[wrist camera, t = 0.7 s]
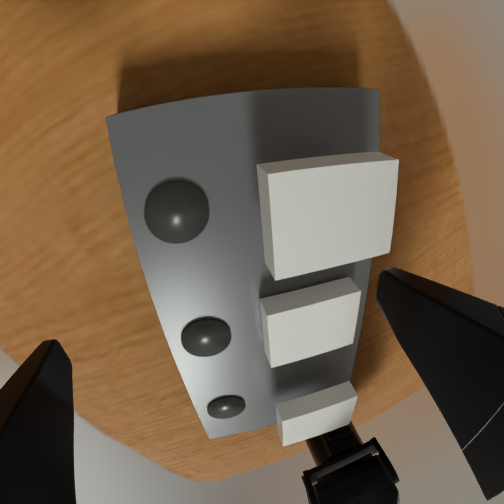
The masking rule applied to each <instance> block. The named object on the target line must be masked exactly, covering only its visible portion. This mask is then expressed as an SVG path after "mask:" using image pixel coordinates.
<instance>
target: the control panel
mask: <svg viewBox="0 0 504 504" xmlns="http://www.w3.org/2000/svg"><path fill="white" fill-rule="evenodd" d="M106 122H107V127H108V133H109V138H110V143H111V148H112V153H113V158H114V163H115V167H116V172H117V176H118V181H119V185H120V189H121V193H122V197H123V201H124V205H125V209H126V213H127V217H128V221H129V224H130V228H131V232H132V235H133V239H134V242H135V246H136V249H137V253H138V256H139V259H140V262H141V266H142V269H143V272H144V275H145V278H146V282H147V285H148V288H149V291H150V294H151V297H152V300H153V303H154V305H155V308H156V311H157V314H158V317H159V320H160V322H161V325H162V328H163V331H164V333H165V336H166V339H167V341H168V344H169V347H170V349H171V352H172V354H173V357H174V359H175V362H176V364H177V367H178V369H179V372H180V374H181V377H182V379H183V381H184V384H185V386H186V388H187V391H188V393H189V395H190V398H191V400H192V402H193V404H194V407H195V409H196V411H197V413H198V415H199V418H200V420H201V422H202V424H203V426H204V428H205V430H206V432H207V434H208V437H209V439H214V438H219V437H224V436H228V435H233V434H238V433H242V432H246V431H250V430H254V429H258V428H262V427H266V426H270V425H274V424H277V416H276V404H279V403H282V402H286V401H289V400H292V399H296V398H299V397H302V396H306V395H309V394H312V393H315V392H318V391H321V390H324V389H327V388H330V387H333V386H336V385H339V384H342V383H344V382H347V381H350V379H351V375H352V371H353V366H354V362H355V357H356V352H357V347H358V342H359V337H360V332H361V326H362V321H363V315H364V309H365V303H366V297H367V290H368V283H369V276H370V269H371V261H372V258H368V259H364V260H360V261H356V262H352V263H348V264H344V265H340V266H336V267H332V268H328V269H323V270H319V271H315V272H311V273H307V274H302V275H298V276H294V277H290V278H285V279H281V280H277V281H275V279H274V278H273V276H272V274H271V272H270V270H269V269H268V267H267V265H266V263H265V256H264V244H263V232H262V221H261V209H260V198H259V186H258V175H257V164H262V163H270V162H277V161H285V160H293V159H301V158H310V157H319V156H329V155H339V154H351V153H363V152H380V92H379V89H371V88H358V87H292V88H274V89H260V90H248V91H238V92H229V93H221V94H213V95H206V96H199V97H192V98H186V99H180V100H175V101H169V102H164V103H159V104H154V105H149V106H145V107H140V108H136V109H131V110H127V111H123V112H119V113H116V114H113V115H110V116H107V117H106ZM346 277H350V279H351V280H352V281H353V282H354V283H355V284H356V285H357V286H358V288H359V289H360V290H361V297H360V304H359V311H358V317H357V323H356V329H355V335H354V339H353V344H350V345H347V346H344V347H341V348H338V349H335V350H331V351H328V352H325V353H322V354H319V355H316V356H312V357H309V358H306V359H302V360H299V361H295V362H292V363H288V364H285V365H281V366H277V367H273V368H271V366H270V364H269V361H268V359H267V356H266V353H265V350H264V340H263V329H262V319H261V309H260V299H261V298H266V297H270V296H274V295H278V294H283V293H287V292H291V291H295V290H299V289H303V288H307V287H311V286H315V285H319V284H323V283H327V282H331V281H335V280H339V279H342V278H346Z"/></svg>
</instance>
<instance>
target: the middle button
mask: <svg viewBox="0 0 504 504" xmlns="http://www.w3.org/2000/svg"><path fill="white" fill-rule="evenodd" d="M360 297H361V290H360V289H359V288H358V286H357V285H356V284H355V283H354V282H353V281H352V280H351V279H350V277H346V278H342V279H339V280H335V281H331V282H327V283H323V284H319V285H315V286H311V287H307V288H303V289H299V290H295V291H291V292H287V293H283V294H278V295H274V296H270V297H266V298H261V299H260V309H261V319H262V329H263V340H264V350H265V353H266V356H267V359H268V361H269V364H270V366H271V368H273V367H277V366H281V365H285V364H288V363H292V362H295V361H299V360H302V359H306V358H309V357H312V356H316V355H319V354H322V353H325V352H328V351H331V350H335V349H338V348H341V347H344V346H347V345H350V344H353V339H354V335H355V329H356V323H357V317H358V311H359V304H360Z"/></svg>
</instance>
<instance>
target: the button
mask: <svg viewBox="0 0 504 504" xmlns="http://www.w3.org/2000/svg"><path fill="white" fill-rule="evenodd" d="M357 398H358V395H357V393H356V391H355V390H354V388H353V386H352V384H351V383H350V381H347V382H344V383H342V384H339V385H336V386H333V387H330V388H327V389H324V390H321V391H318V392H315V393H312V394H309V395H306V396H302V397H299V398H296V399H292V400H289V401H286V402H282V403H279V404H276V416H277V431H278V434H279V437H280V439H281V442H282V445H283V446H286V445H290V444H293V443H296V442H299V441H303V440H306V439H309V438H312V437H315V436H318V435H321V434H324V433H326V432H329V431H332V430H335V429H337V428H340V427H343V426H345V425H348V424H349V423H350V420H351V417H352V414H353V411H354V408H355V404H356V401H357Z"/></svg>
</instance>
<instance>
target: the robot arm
mask: <svg viewBox="0 0 504 504" xmlns="http://www.w3.org/2000/svg"><path fill="white" fill-rule="evenodd" d="M376 298H377V301H378V303H379V305H380V307H381V309H382V311H383V313H384V315H385V317H386V318H387V320H388V322H389V324H390V326H391V328H392V330H393V332H394V334H395V336H396V338H397V340H398V342H399V343H400V345H401V347H402V348H403V350H404V352H405V353H406V355H407V356H408V358H409V360H410V361H411V363H412V364H413V366H414V368H415V369H416V371H417V372H418V374H419V376H420V377H421V379H422V381H423V382H424V384H425V386H426V387H427V389H428V391H429V392H430V394H431V396H432V397H433V399H434V401H435V403H436V404H437V406H438V408H439V410H440V411H441V413H442V415H443V417H444V418H445V420H446V422H447V424H448V425H449V427H450V429H451V431H452V432H453V435H454V436H455V438H456V440H457V442H458V444H459V446H460V448H461V449H462V452H463V453H464V456H465V457H466V459H467V461H468V463H469V465H470V467H471V469H472V471H473V473H474V475H475V477H476V479H477V481H478V483H479V485H480V487H481V490H482V492H483V494H484V496H485V498H486V499H487V501H489V500H491V499H492V498H494V497H495V496H497V495H498V494H500V493H502V492H503V491H504V308H503V307H500V306H498V307H497V306H496V305H495V304H493V303H490V302H487V301H484V300H482V299H480V298H477V297H474V296H472V295H469V294H466V293H464V292H461V291H458V290H456V289H453V288H450V287H448V286H445V285H442V284H440V283H437V282H434V281H431V280H429V279H426V278H423V277H420V276H418V275H415V274H412V273H409V272H407V271H404V270H401V269H398V268H395V267H390V268H387V269H383V270H382V271H381V272H380V274H379V279H378V285H377V291H376ZM73 436H74V406H73V384H72V364H71V361H70V359H69V357H68V356H67V354H66V353H65V351H64V349H63V348H62V346H61V345H60V343H59V342H58V341H57V340H55V339H52V340H45V341H43V342H42V343H41V344H40V345H39V346H38V347H37V348H36V349H35V350H34V351H33V353H32V354H31V355H30V356H29V357H28V358H27V359H26V360H25V361H24V363H23V364H22V365H21V366H20V367H19V368H18V369H17V371H16V372H15V373H14V374H13V375H12V376H11V378H10V379H9V380H8V381H7V382H6V383H5V385H4V386H3V387H2V388H1V389H0V504H76V495H75V480H74V445H73V444H74V439H73V438H74V437H73ZM306 443H307V445H308V448H309V450H310V452H311V454H312V457H313V459H314V462H315V464H316V466H317V467H314V468H312V469H310V470H306V471H303V474H304V475H303V476H302V480H303V482H304V485H305V488H306V491H307V497H308V502H309V504H399V502H400V499H399V492H398V490H397V487H396V486H395V483H397V482H399V478H398V476H397V473H396V471H395V469H394V468H393V466H392V464H391V462H390V461H389V459H388V457H387V456H386V454H385V453H384V451H383V449H382V448H381V446H380V444H379V443H378V441H377V440H376V438H375V437H374V438H372V439H371V440H370V441H368V442H366V443H364V444H363V442H362V440H361V438H360V437H359V435H358V433H357V431H356V429H355V427H354V425H353V424H352V422H351V420H350V423H349V424H348V425H345V426H343V427H340V428H337V429H335V430H332V431H329V432H326V433H324V434H321V435H318V436H315V437H312V438H309V439H306ZM373 454H376V455H375V456H373Z"/></svg>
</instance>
